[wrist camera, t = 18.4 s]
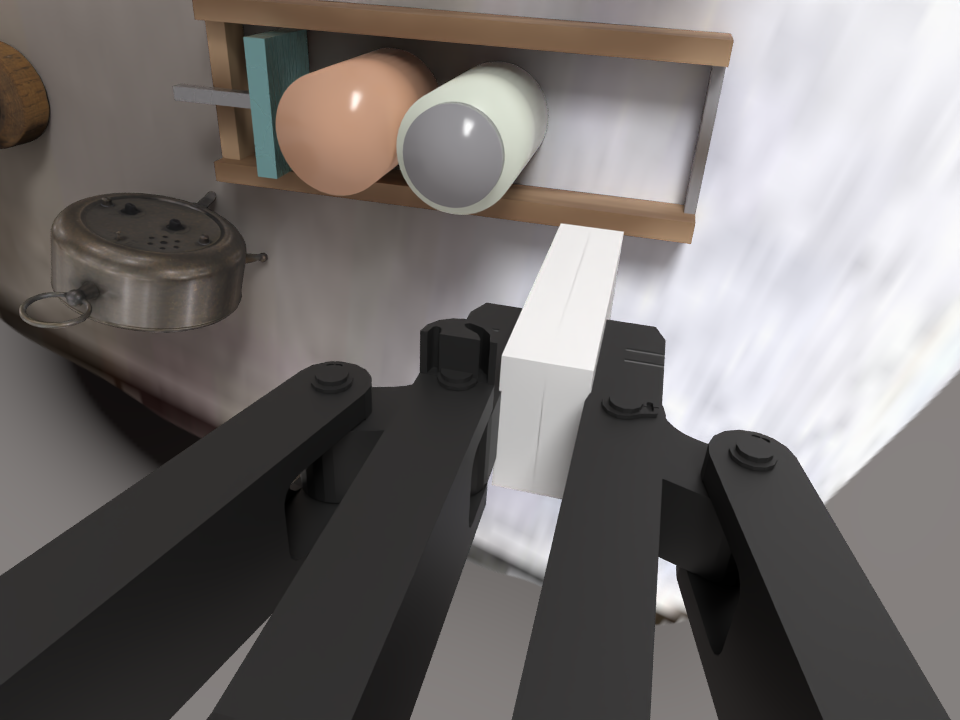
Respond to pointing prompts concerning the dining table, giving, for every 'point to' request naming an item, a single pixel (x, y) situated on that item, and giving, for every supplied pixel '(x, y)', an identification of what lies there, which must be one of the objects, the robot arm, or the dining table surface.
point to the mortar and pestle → (20, 100)
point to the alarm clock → (145, 263)
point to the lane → (299, 6)
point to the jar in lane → (350, 119)
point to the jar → (472, 137)
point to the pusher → (261, 90)
